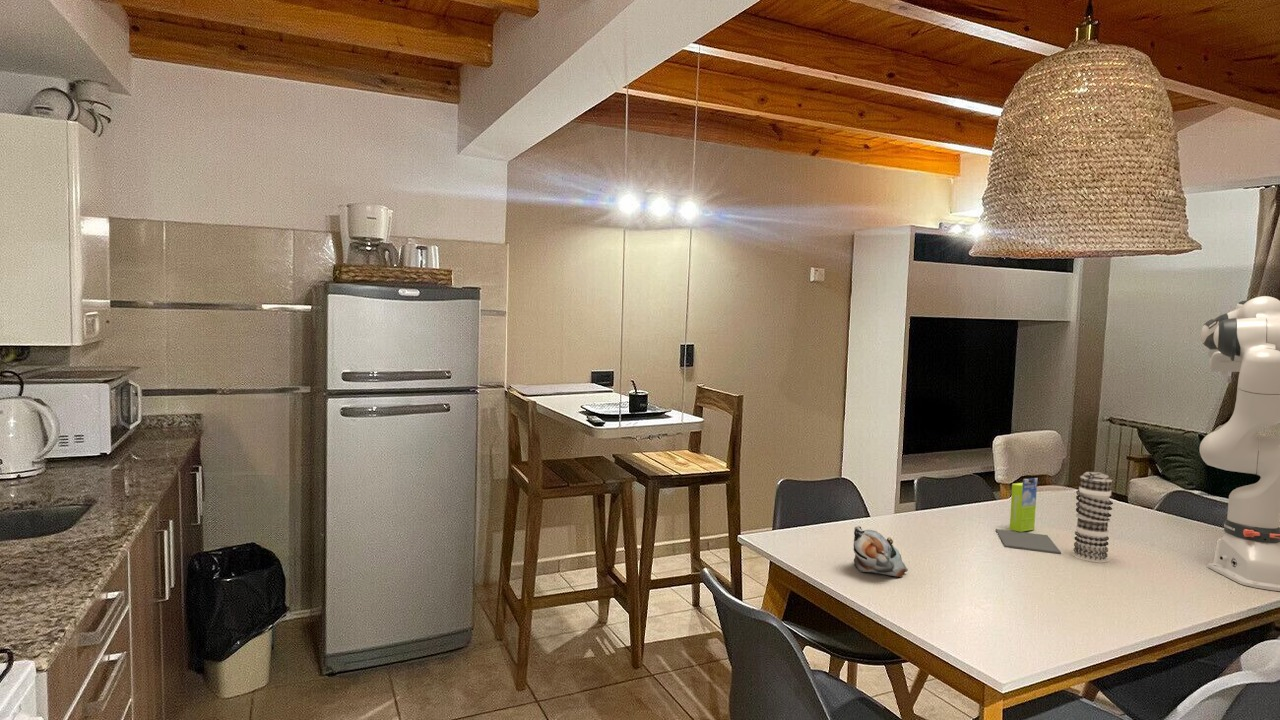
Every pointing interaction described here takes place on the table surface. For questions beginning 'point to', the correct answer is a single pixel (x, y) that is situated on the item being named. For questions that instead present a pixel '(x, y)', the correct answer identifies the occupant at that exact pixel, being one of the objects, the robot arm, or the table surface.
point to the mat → (1027, 541)
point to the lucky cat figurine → (876, 554)
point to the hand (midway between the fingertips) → (1245, 382)
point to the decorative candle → (1093, 517)
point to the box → (1023, 505)
